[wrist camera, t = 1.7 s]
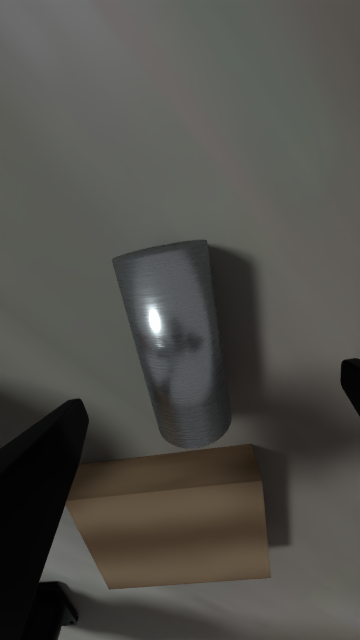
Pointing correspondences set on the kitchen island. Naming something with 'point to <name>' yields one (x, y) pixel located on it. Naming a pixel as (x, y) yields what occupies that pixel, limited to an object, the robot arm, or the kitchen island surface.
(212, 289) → the roller
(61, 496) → the robot arm
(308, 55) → the kitchen island surface
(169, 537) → the slab
